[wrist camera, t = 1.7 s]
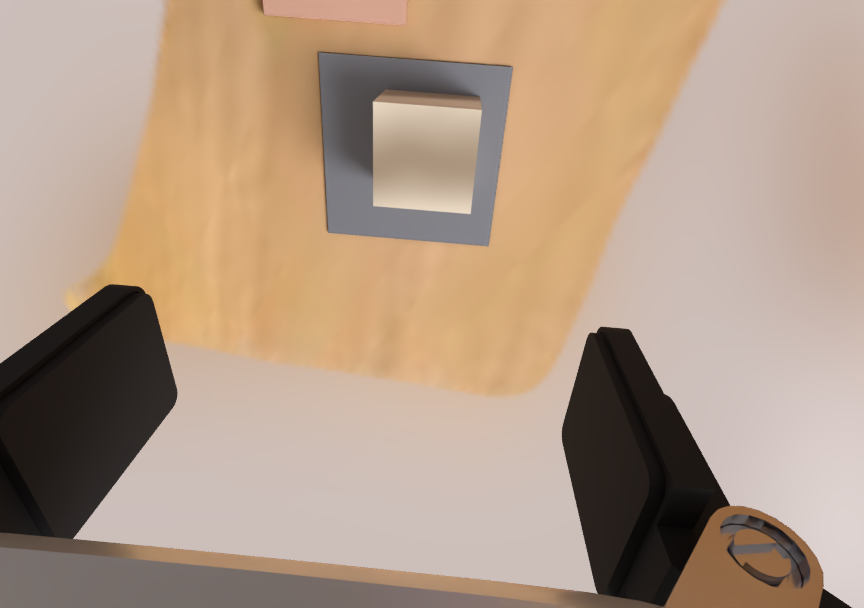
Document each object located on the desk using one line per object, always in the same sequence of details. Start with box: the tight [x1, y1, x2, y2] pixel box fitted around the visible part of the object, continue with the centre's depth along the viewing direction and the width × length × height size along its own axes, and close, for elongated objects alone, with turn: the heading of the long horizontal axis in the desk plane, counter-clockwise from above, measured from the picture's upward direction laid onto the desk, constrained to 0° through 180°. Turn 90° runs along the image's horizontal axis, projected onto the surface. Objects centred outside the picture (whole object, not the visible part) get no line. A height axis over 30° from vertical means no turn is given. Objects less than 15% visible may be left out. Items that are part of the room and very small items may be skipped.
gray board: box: [319, 52, 513, 246], centre depth 27 cm, size 10×10×1 cm
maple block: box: [373, 89, 482, 214], centre depth 25 cm, size 5×5×4 cm
